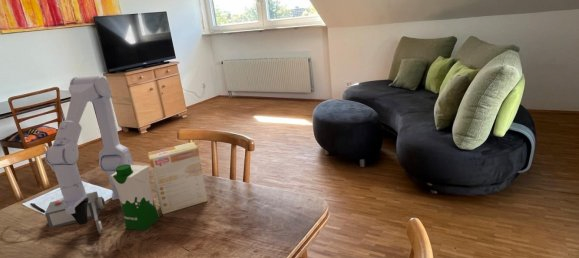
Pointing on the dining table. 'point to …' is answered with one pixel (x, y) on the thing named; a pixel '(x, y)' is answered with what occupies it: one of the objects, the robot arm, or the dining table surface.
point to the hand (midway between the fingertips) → (83, 223)
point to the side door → (96, 217)
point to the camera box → (60, 218)
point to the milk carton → (135, 196)
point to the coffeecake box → (178, 177)
